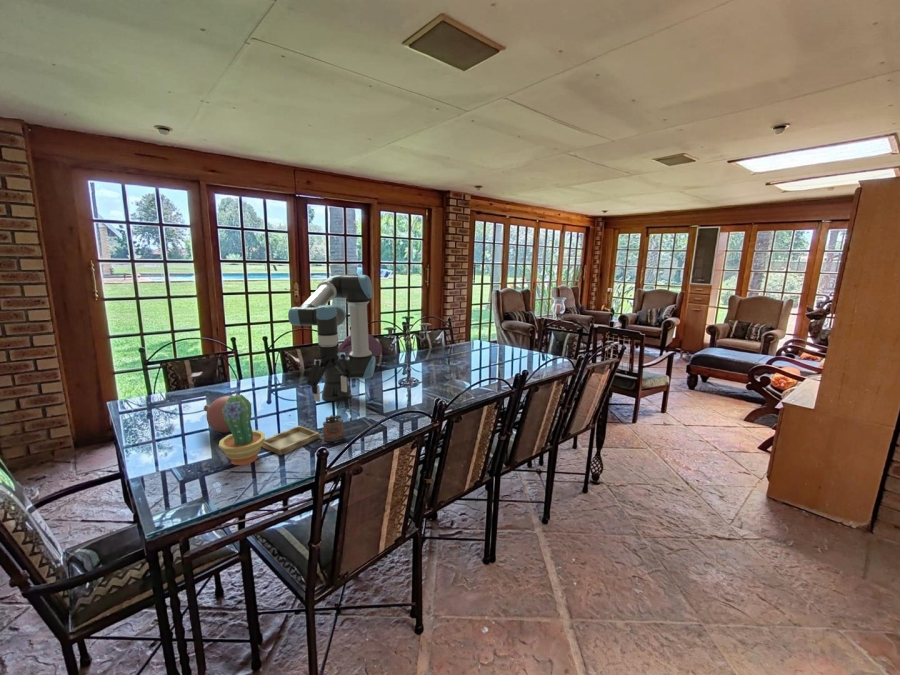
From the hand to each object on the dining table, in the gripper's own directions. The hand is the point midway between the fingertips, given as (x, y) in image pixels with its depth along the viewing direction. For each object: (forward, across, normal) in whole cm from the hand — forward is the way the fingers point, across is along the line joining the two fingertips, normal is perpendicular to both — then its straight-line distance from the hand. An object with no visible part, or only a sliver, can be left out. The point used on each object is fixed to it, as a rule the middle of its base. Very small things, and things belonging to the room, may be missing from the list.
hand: (331, 396), depth 161 cm
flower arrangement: (+18, -73, -67) cm, 101 cm away
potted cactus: (+19, +30, -14) cm, 38 cm away
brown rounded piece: (+19, +21, -45) cm, 53 cm away
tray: (+18, +12, -12) cm, 25 cm away
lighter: (+19, 0, 0) cm, 19 cm away
